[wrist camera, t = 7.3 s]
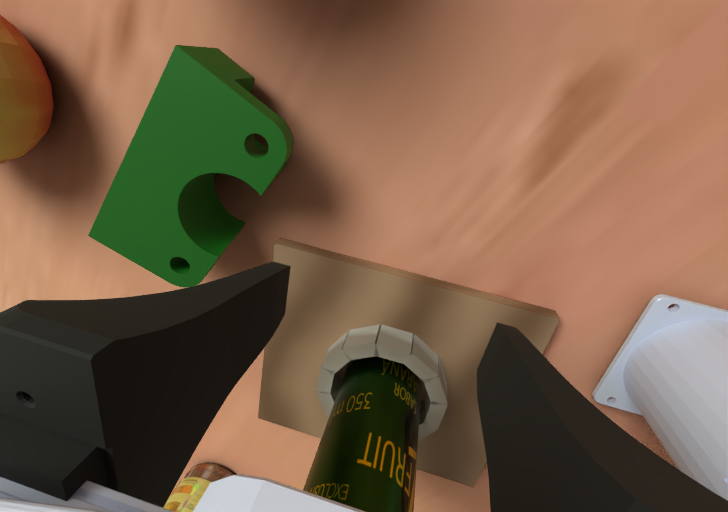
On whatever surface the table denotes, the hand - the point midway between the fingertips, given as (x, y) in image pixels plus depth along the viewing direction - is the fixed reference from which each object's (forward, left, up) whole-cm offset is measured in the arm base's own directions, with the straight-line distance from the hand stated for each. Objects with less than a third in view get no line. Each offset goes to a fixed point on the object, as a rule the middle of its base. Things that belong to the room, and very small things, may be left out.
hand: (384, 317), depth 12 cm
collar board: (-1, +11, -10) cm, 15 cm away
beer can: (-1, +11, -10) cm, 15 cm away
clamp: (+11, -3, -12) cm, 17 cm away
